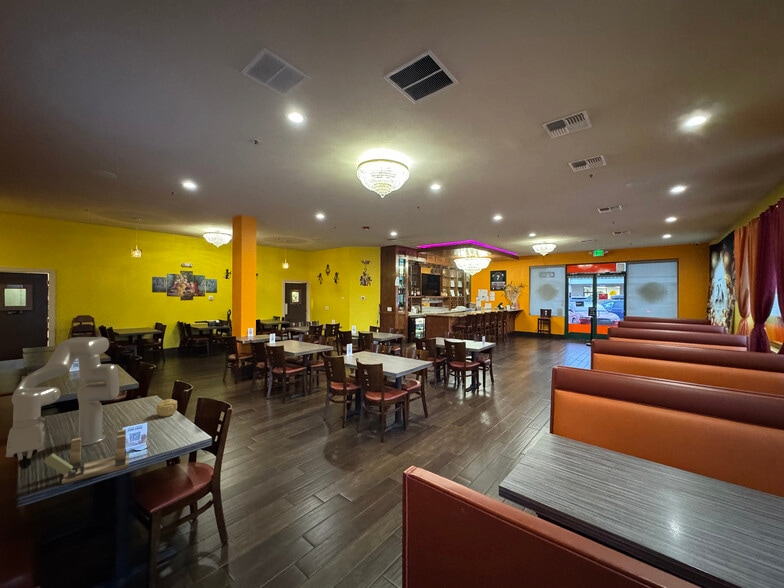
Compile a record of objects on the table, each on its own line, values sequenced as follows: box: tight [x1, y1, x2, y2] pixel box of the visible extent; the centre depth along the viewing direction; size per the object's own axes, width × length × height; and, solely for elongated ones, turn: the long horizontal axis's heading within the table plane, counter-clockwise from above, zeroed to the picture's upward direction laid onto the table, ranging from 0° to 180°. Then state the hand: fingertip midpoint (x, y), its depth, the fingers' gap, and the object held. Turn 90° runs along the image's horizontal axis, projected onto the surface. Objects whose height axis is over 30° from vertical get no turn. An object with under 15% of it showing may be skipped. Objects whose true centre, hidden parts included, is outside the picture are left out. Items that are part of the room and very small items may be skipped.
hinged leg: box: [43, 452, 76, 476], centre depth 139 cm, size 4×3×13 cm
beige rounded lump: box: [156, 398, 178, 418], centre depth 218 cm, size 11×12×11 cm
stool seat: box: [61, 428, 130, 485], centre depth 149 cm, size 14×22×14 cm, turn 129°
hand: (25, 467), depth 132 cm, fingers closed
